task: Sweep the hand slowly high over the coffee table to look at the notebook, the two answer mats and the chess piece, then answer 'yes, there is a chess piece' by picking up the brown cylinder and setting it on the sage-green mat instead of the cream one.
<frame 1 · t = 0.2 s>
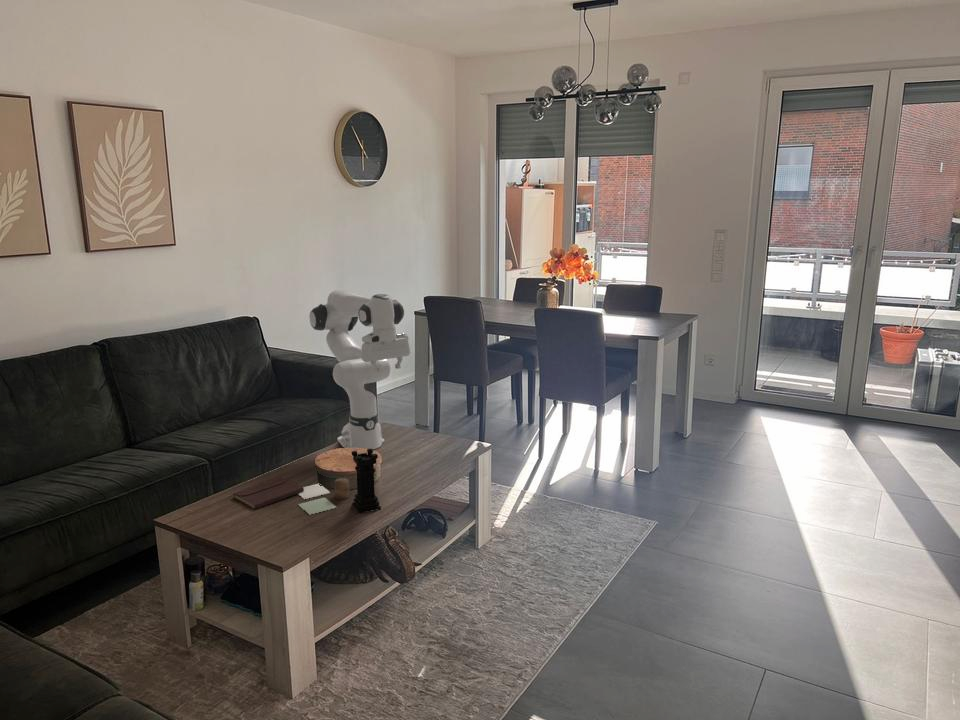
hand: (387, 370, 280), 39 cm above the table, tool pointing down, fingers open, 8 cm apart
chess piece: (366, 507, 248), on the table
brown cylinder: (342, 496, 256), on the table
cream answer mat: (311, 491, 260), on the table
notebook: (269, 494, 257), on the table, touching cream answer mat
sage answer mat: (317, 506, 248), on the table
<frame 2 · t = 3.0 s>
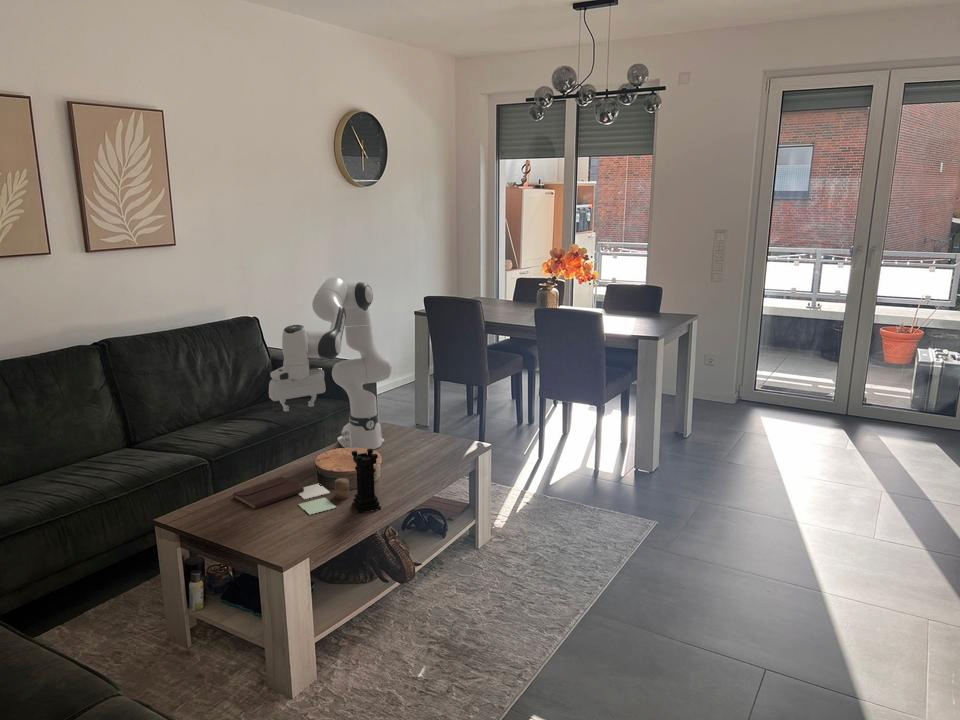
hand: (298, 408, 254), 32 cm above the table, tool pointing down, fingers open, 8 cm apart
nothing on the table moved.
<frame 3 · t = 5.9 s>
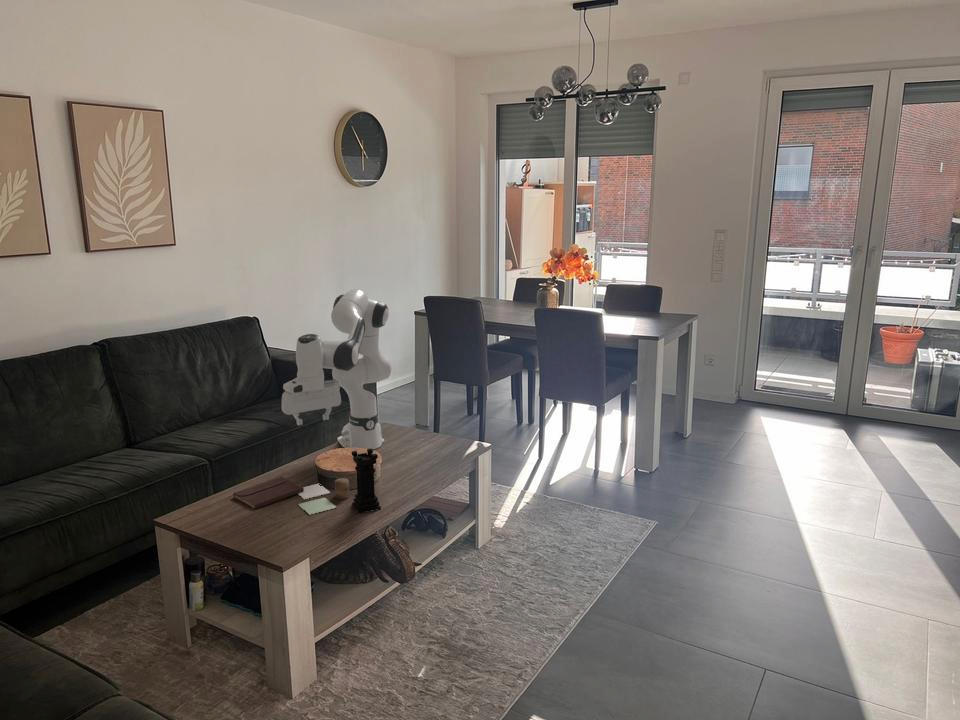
hand: (312, 422, 240), 31 cm above the table, tool pointing down, fingers open, 8 cm apart
nothing on the table moved.
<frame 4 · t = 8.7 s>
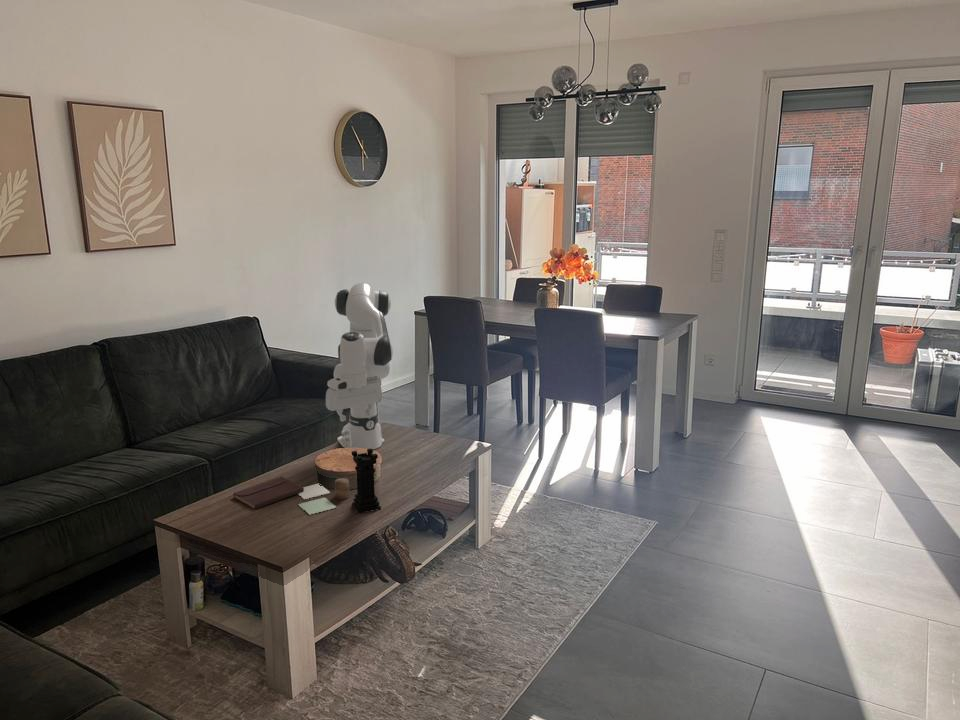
hand: (355, 418, 245), 31 cm above the table, tool pointing down, fingers open, 8 cm apart
nothing on the table moved.
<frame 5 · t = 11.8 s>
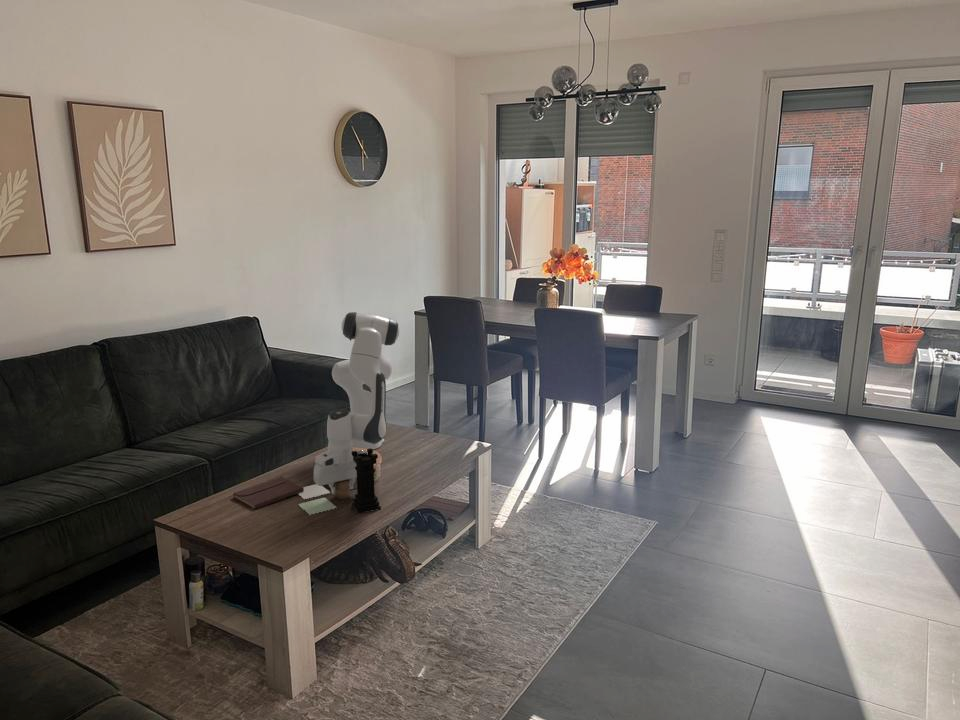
hand: (342, 490, 256), 2 cm above the table, tool pointing down, fingers closed on brown cylinder, 5 cm apart
brown cylinder: (342, 496, 256), on the table, touching gripper
everything else where it was.
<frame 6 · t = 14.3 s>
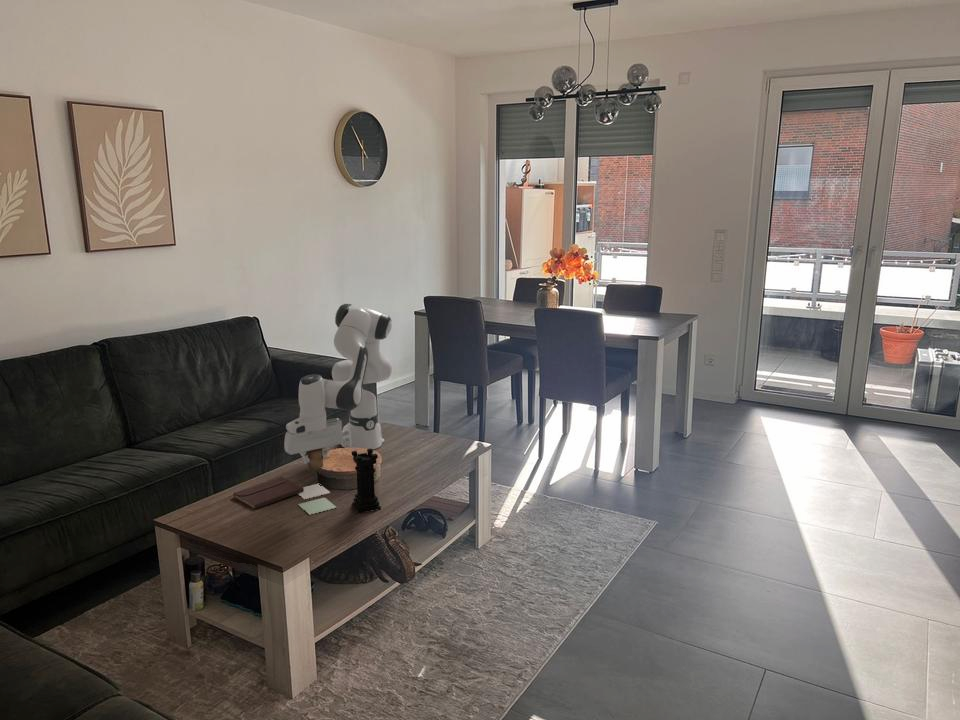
hand: (315, 460, 244), 17 cm above the table, tool pointing down, fingers closed on brown cylinder, 5 cm apart
brown cylinder: (315, 466, 244), point 15 cm above the table, touching gripper
everything else where it was.
when the fingers open (4 cm above the table, at t = 17.1 s): brown cylinder drops 2 cm, resting on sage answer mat.
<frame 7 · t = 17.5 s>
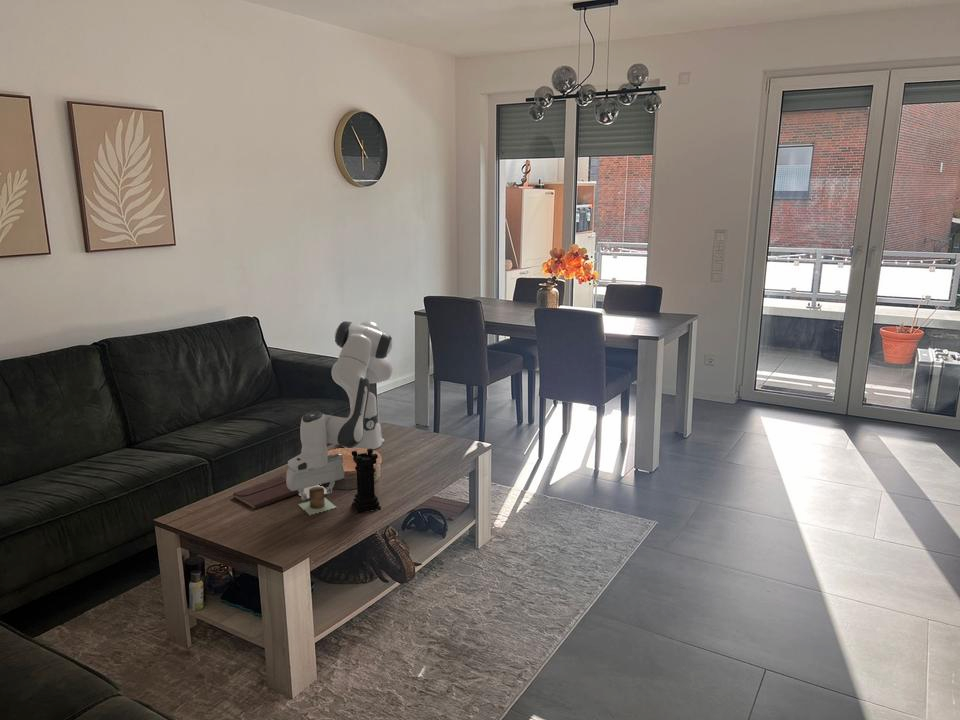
hand: (316, 495, 247), 4 cm above the table, tool pointing down, fingers open, 8 cm apart
brown cylinder: (317, 505, 248), resting on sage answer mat
everything else where it was.
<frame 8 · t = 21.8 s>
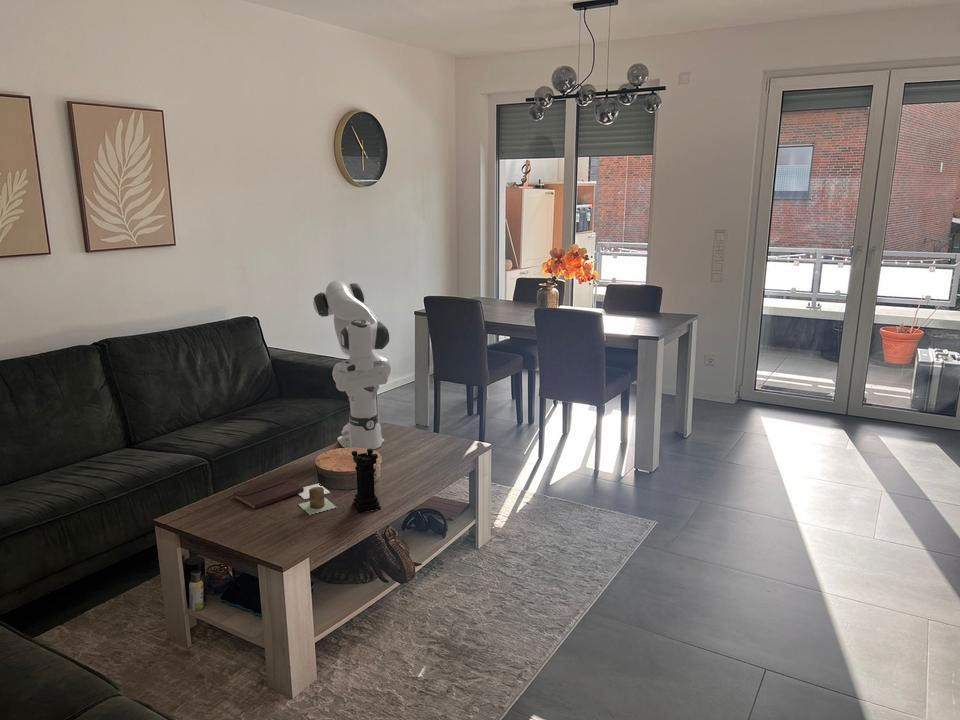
hand: (362, 398, 268), 31 cm above the table, tool pointing down, fingers open, 8 cm apart
nothing on the table moved.
at the end: brown cylinder inside the target area (0.0 cm from its centre), resting on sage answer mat; brown cylinder tilted 0°; the gripper is holding nothing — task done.
